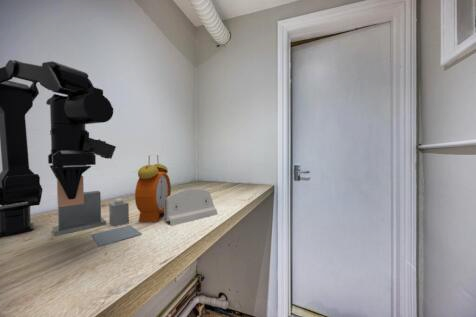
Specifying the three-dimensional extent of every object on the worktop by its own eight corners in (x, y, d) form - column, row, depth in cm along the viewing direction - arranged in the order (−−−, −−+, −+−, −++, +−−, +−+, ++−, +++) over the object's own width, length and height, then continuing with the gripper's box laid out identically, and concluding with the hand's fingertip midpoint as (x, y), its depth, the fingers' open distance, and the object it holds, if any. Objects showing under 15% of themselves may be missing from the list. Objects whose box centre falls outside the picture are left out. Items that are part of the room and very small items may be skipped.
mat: (91, 235, 50) (91, 234, 50) (129, 225, 57) (129, 225, 57) (99, 246, 44) (99, 245, 44) (141, 234, 50) (141, 233, 50)
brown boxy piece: (57, 203, 43) (56, 170, 43) (80, 200, 46) (80, 169, 46) (59, 207, 41) (58, 171, 40) (83, 203, 43) (83, 170, 43)
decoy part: (109, 223, 59) (109, 199, 59) (124, 220, 62) (124, 197, 61) (113, 226, 56) (112, 201, 56) (128, 223, 59) (128, 199, 59)
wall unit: (53, 230, 53) (52, 195, 53) (101, 220, 61) (101, 189, 61) (54, 236, 50) (53, 198, 50) (106, 224, 58) (105, 191, 57)
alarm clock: (155, 223, 58) (154, 155, 58) (134, 223, 58) (133, 155, 58) (171, 210, 71) (171, 155, 71) (154, 210, 72) (153, 155, 71)
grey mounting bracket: (170, 226, 56) (164, 191, 58) (164, 227, 60) (159, 194, 62) (218, 214, 67) (212, 185, 69) (211, 215, 71) (205, 188, 73)
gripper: (123, 124, 42) (125, 198, 43) (102, 131, 55) (103, 187, 56) (52, 118, 34) (54, 208, 35) (47, 128, 47) (48, 193, 48)
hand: (70, 197), depth 43 cm, fingers closed on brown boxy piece, 4 cm apart
